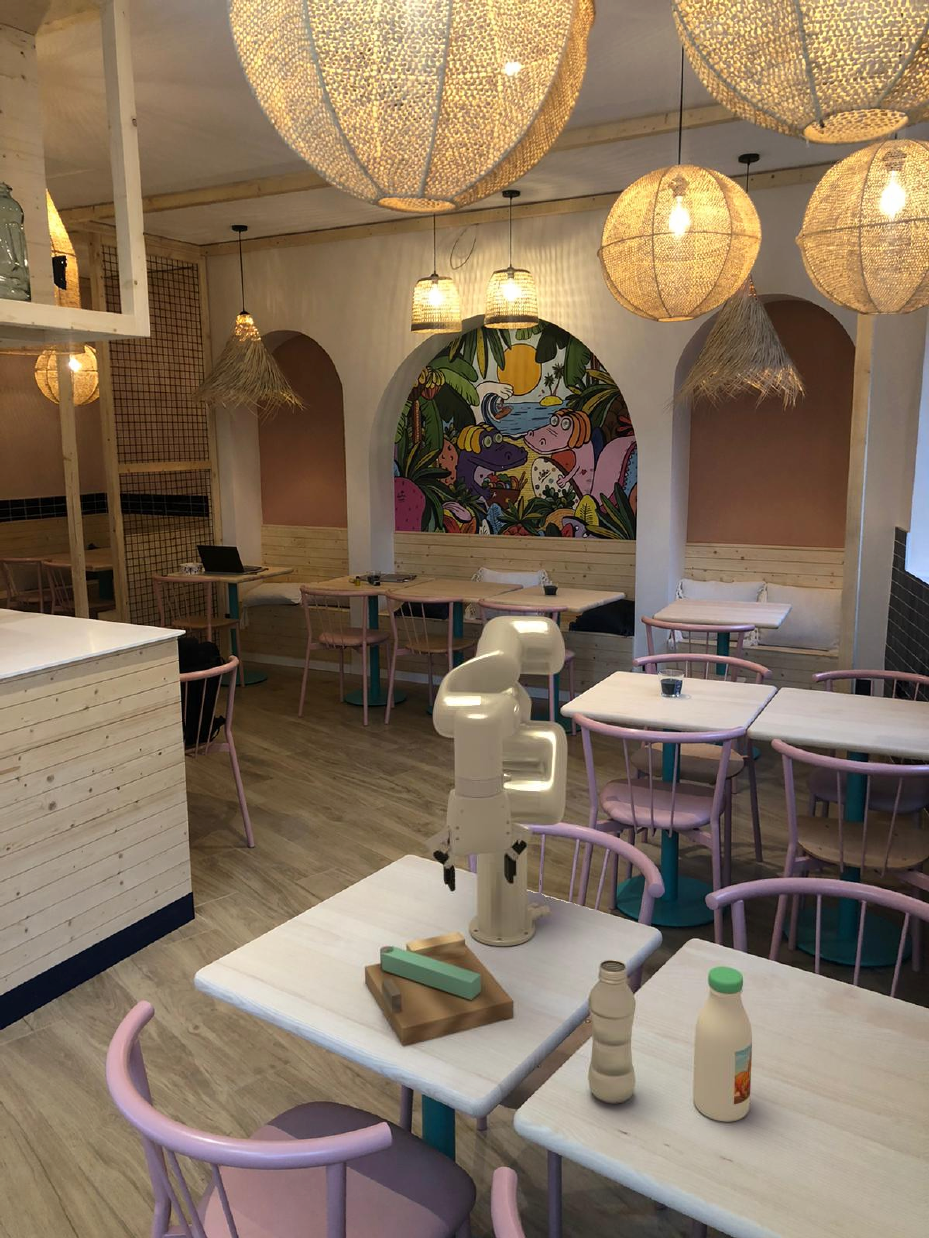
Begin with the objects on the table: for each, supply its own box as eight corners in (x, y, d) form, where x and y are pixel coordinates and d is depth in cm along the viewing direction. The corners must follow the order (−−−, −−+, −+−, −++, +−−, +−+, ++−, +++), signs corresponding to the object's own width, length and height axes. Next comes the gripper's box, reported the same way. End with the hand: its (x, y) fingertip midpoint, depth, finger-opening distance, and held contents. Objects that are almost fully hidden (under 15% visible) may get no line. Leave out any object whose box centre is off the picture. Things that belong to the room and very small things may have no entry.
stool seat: (465, 959, 177) (465, 928, 176) (513, 1017, 159) (513, 983, 158) (364, 982, 170) (363, 950, 169) (401, 1046, 152) (400, 1010, 151)
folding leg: (376, 967, 168) (376, 951, 168) (387, 959, 171) (386, 943, 170) (471, 999, 158) (471, 982, 158) (480, 991, 161) (480, 974, 160)
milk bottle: (715, 1129, 132) (720, 994, 129) (681, 1096, 139) (685, 966, 136) (761, 1114, 135) (767, 981, 132) (725, 1081, 142) (730, 954, 139)
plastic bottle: (634, 1112, 136) (637, 980, 132) (585, 1106, 137) (586, 975, 134) (635, 1083, 142) (638, 956, 139) (589, 1078, 144) (590, 952, 140)
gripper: (524, 770, 160) (524, 867, 163) (420, 780, 156) (423, 879, 160) (538, 786, 153) (538, 887, 156) (429, 797, 149) (432, 901, 152)
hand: (480, 883), depth 158 cm, fingers open, 9 cm apart
